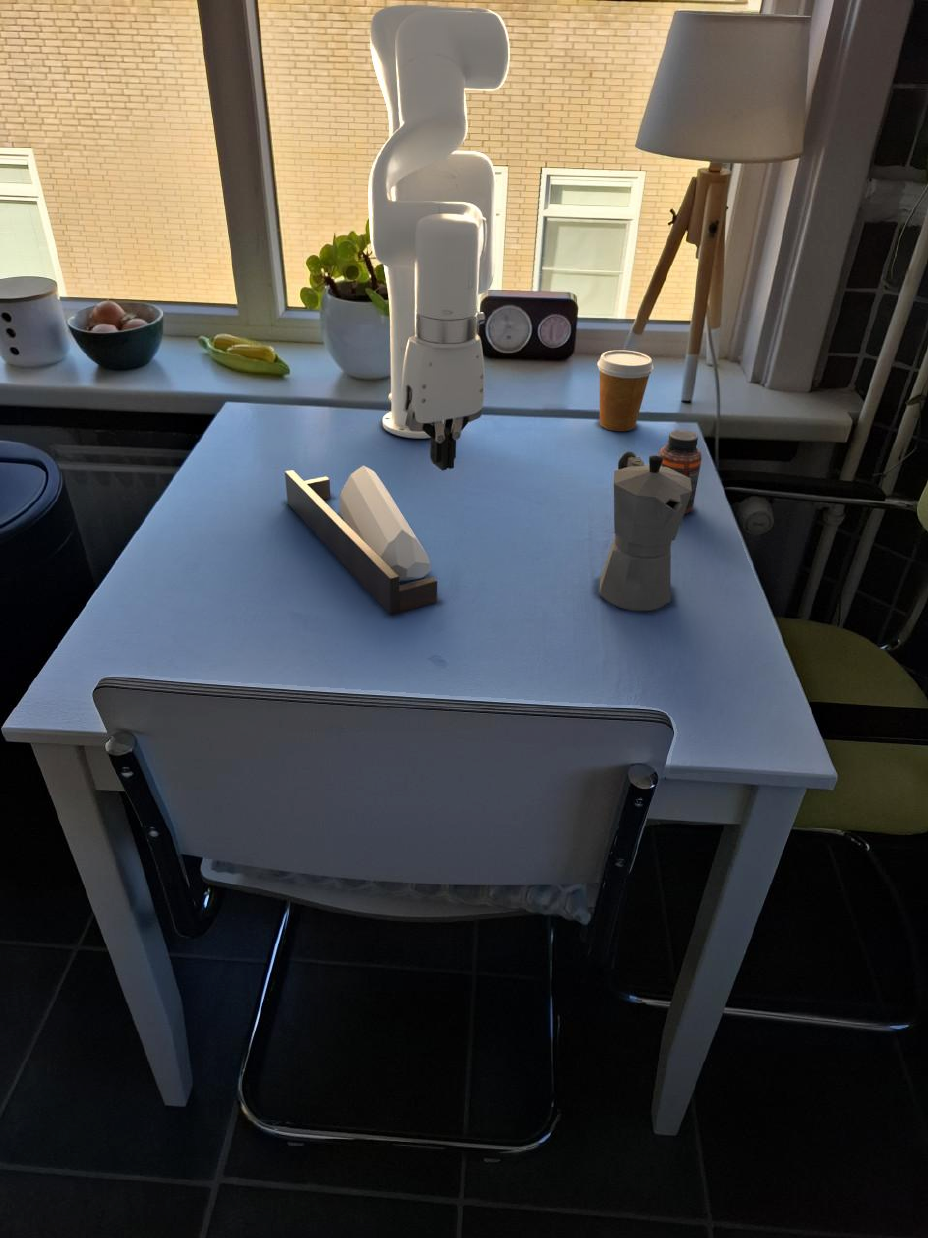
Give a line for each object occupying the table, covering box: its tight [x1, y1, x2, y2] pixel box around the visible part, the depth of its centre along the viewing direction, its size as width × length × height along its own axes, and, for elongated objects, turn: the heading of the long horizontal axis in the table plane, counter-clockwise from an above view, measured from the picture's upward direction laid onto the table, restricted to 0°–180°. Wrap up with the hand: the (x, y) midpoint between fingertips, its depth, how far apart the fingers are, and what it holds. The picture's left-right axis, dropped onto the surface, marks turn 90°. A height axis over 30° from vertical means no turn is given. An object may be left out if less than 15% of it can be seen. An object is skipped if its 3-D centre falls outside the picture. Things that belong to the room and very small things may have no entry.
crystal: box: [338, 465, 432, 583], centre depth 115 cm, size 7×7×24 cm
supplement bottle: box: [658, 429, 703, 515], centre depth 125 cm, size 6×6×11 cm
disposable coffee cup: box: [597, 349, 654, 432], centre depth 152 cm, size 10×10×12 cm
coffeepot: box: [598, 451, 692, 612], centre depth 104 cm, size 15×9×18 cm, turn 13°
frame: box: [284, 469, 438, 616], centre depth 114 cm, size 33×6×5 cm, turn 30°
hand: (442, 465), depth 117 cm, fingers closed
